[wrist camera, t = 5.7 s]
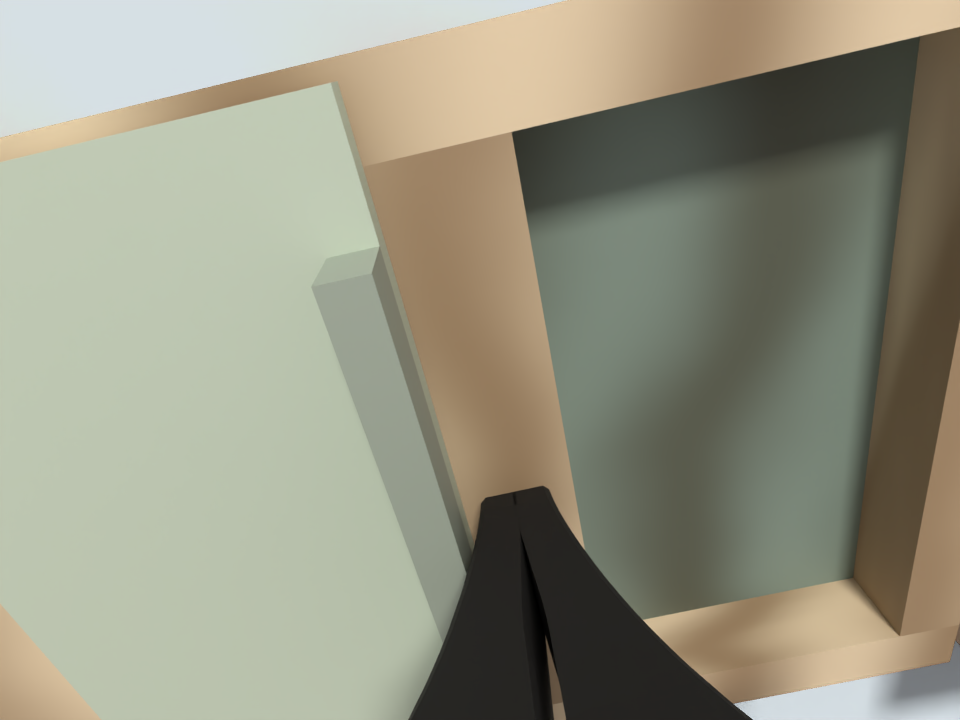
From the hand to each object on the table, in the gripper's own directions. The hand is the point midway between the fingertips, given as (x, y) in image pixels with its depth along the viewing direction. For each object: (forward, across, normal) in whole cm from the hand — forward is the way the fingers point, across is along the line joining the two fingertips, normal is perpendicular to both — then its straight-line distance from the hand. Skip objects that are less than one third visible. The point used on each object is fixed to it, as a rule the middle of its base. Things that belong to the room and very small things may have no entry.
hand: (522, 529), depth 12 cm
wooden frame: (+3, +2, 0) cm, 4 cm away
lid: (0, +6, 0) cm, 6 cm away
